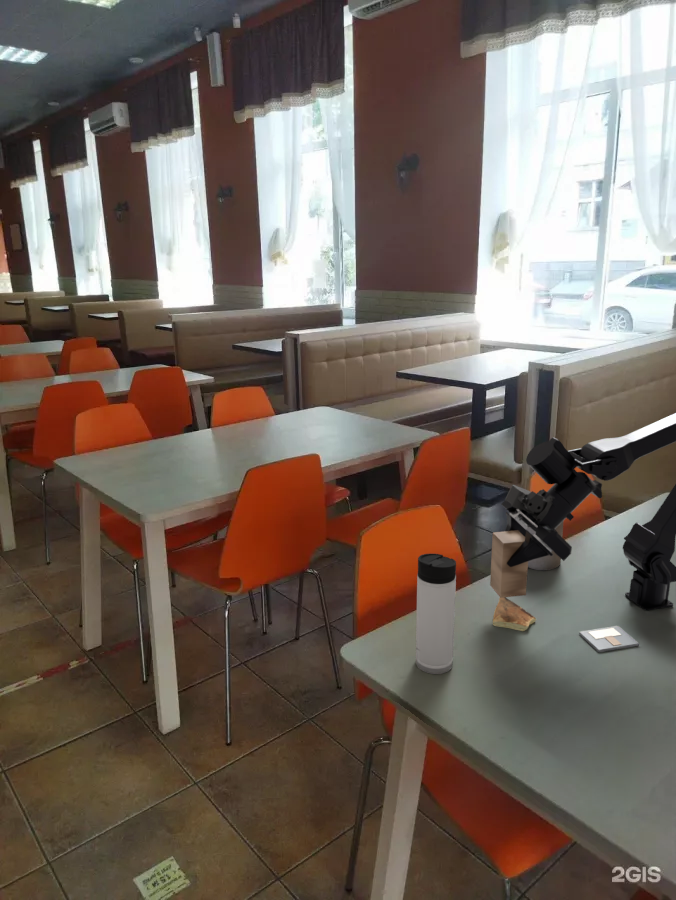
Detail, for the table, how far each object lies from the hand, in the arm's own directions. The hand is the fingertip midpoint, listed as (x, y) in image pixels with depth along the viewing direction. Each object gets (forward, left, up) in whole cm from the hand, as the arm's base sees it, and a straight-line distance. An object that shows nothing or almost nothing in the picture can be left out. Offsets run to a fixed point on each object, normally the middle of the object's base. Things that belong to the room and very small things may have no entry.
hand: (502, 559), depth 124 cm
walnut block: (-1, 0, -7) cm, 7 cm away
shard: (-1, 0, -13) cm, 13 cm away
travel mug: (+18, +11, -12) cm, 24 cm away
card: (-15, +12, -12) cm, 23 cm away
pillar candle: (-19, -20, -12) cm, 30 cm away
